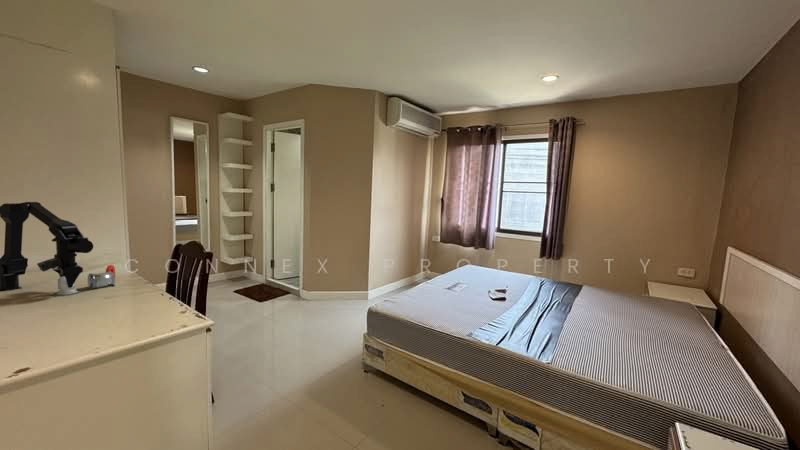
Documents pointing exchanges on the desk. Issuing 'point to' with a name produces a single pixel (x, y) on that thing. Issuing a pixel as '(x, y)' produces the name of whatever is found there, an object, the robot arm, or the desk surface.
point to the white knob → (65, 286)
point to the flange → (67, 293)
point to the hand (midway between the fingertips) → (67, 286)
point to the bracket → (111, 269)
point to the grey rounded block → (101, 280)
